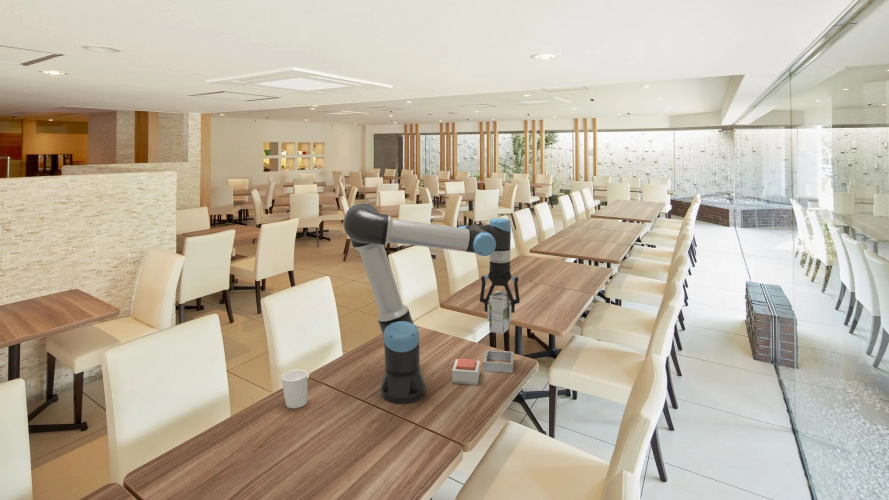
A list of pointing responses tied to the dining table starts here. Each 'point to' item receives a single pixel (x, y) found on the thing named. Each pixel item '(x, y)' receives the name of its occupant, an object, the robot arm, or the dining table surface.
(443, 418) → the dining table surface
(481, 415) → the dining table surface
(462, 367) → the button
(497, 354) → the frame
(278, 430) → the dining table surface
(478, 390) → the dining table surface
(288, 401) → the white cup
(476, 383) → the switch box
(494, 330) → the syrup box
